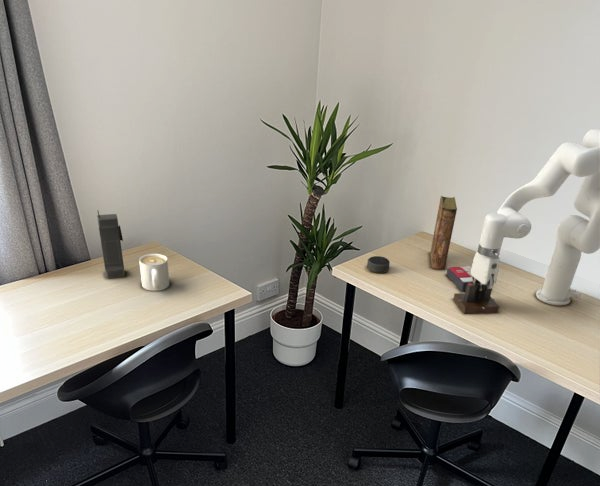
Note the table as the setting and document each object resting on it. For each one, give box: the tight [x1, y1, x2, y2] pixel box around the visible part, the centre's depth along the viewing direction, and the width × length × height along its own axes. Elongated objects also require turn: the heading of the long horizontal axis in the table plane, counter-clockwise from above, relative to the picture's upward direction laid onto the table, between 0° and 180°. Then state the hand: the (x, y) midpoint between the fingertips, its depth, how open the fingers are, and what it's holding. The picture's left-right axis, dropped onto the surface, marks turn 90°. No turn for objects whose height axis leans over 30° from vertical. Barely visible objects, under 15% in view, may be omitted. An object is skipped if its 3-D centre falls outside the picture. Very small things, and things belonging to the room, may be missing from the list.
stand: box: [452, 292, 500, 315], centre depth 223 cm, size 14×14×3 cm
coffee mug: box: [138, 253, 170, 292], centre depth 221 cm, size 13×10×10 cm
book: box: [429, 195, 458, 271], centre depth 247 cm, size 16×6×25 cm, turn 172°
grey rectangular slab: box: [464, 282, 495, 302], centre depth 220 cm, size 10×2×7 cm, turn 110°
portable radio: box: [96, 211, 126, 279], centre depth 223 cm, size 8×6×25 cm
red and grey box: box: [446, 265, 473, 292], centre depth 238 cm, size 11×4×15 cm
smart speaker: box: [366, 255, 391, 274], centre depth 244 cm, size 9×9×4 cm
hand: (477, 297), depth 222 cm, fingers closed on grey rectangular slab, 2 cm apart
